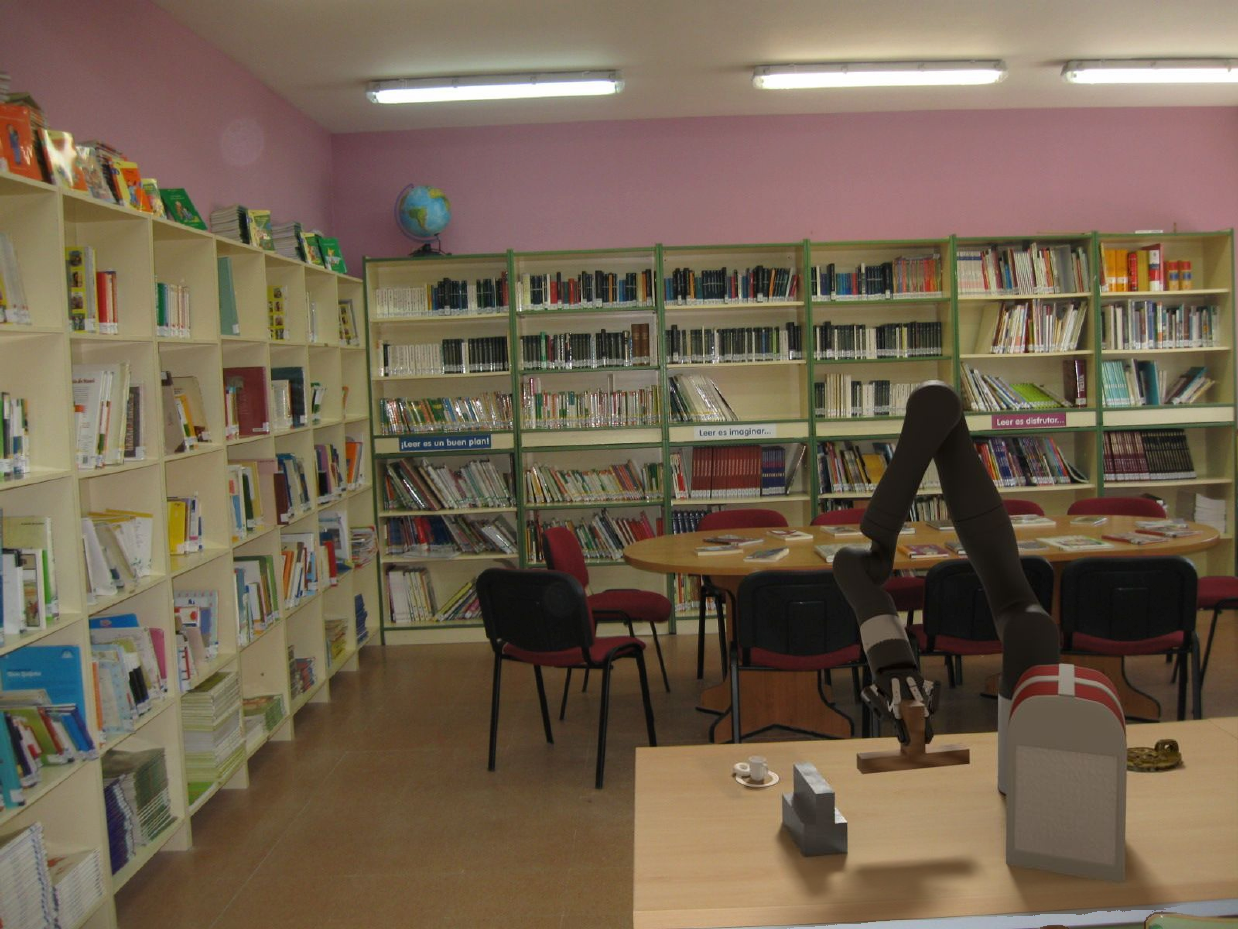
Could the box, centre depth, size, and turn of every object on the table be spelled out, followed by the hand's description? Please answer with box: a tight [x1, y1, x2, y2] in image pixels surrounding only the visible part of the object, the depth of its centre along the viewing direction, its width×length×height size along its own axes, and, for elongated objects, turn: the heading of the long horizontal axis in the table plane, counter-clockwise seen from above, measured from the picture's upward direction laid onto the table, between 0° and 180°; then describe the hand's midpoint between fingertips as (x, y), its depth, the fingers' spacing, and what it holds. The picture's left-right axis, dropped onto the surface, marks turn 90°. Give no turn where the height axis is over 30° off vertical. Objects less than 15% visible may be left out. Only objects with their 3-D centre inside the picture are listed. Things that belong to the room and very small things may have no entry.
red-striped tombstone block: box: [1005, 663, 1128, 884], centre depth 155 cm, size 17×18×27 cm
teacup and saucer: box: [732, 755, 780, 788], centre depth 185 cm, size 9×8×4 cm
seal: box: [1127, 738, 1183, 772], centre depth 187 cm, size 9×5×15 cm
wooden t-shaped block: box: [856, 700, 971, 775], centre depth 162 cm, size 18×3×10 cm, turn 96°
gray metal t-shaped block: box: [781, 761, 849, 858], centre depth 161 cm, size 12×7×10 cm, turn 7°
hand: (917, 742), depth 160 cm, fingers closed on wooden t-shaped block, 3 cm apart
